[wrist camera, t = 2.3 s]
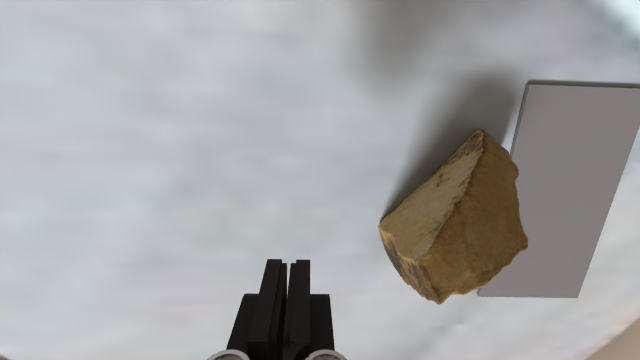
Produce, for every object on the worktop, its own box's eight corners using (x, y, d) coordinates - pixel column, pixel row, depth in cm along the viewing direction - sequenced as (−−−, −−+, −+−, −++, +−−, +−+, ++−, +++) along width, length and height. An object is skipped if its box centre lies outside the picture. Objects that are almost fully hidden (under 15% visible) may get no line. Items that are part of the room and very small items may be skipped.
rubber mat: (647, 89, 19) (652, 89, 19) (574, 295, 24) (577, 298, 24) (526, 84, 19) (529, 84, 19) (477, 293, 24) (479, 296, 24)
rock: (505, 77, 17) (345, 154, 16) (667, 191, 12) (438, 305, 11) (472, 181, 25) (367, 232, 25) (555, 271, 20) (425, 337, 20)
